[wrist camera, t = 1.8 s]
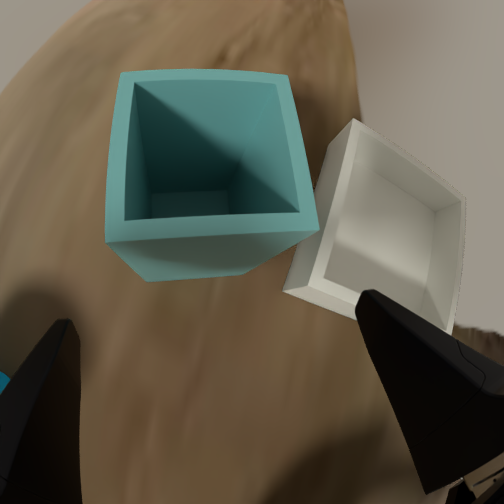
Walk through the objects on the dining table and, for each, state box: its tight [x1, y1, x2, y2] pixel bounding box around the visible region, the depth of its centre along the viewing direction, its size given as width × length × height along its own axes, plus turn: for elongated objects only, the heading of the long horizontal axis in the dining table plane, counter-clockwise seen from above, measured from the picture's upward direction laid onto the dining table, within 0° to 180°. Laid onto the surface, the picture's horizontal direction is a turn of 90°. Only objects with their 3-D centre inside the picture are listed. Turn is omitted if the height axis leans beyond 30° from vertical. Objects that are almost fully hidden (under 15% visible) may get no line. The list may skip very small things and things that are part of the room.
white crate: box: [282, 118, 466, 335], centre depth 22 cm, size 14×14×4 cm
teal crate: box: [105, 69, 320, 282], centre depth 15 cm, size 7×7×12 cm
